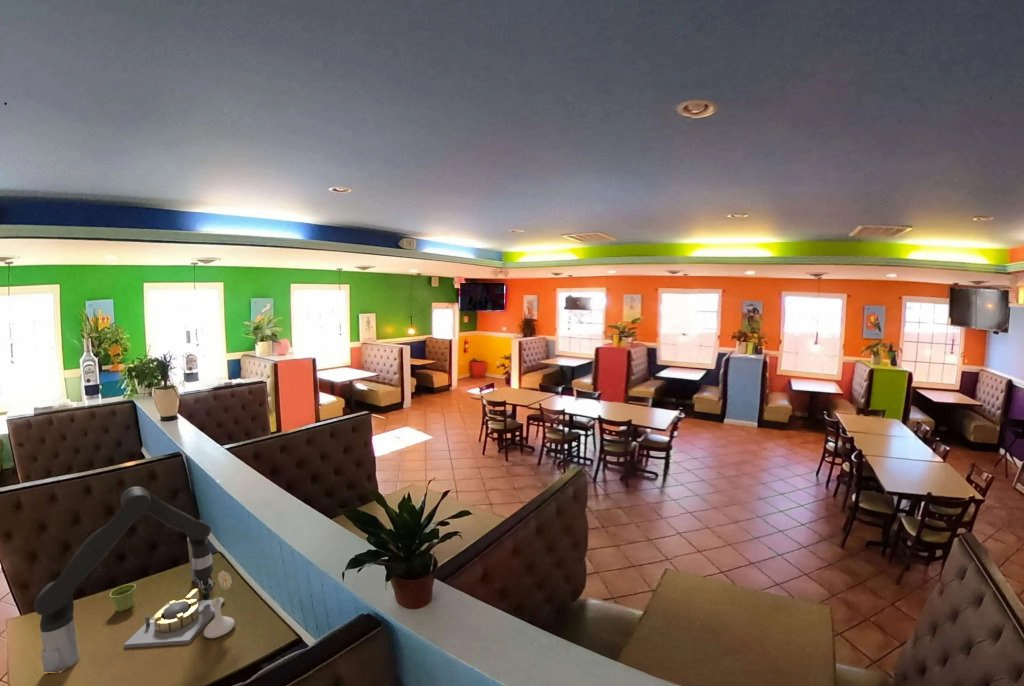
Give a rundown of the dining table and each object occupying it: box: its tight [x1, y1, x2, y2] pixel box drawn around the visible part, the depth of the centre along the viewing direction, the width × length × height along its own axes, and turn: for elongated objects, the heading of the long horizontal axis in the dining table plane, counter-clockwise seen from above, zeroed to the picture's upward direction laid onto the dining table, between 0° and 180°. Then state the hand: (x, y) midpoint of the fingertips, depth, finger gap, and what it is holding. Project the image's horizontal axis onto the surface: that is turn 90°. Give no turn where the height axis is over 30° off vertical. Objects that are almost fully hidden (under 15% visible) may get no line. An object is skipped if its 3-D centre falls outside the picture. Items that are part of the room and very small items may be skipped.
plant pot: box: [109, 583, 137, 612], centre depth 215 cm, size 9×9×9 cm
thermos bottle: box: [187, 537, 195, 583], centre depth 236 cm, size 8×8×28 cm
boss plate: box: [123, 598, 226, 649], centre depth 203 cm, size 26×26×8 cm
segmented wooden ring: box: [153, 588, 200, 632], centre depth 206 cm, size 22×16×5 cm
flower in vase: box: [203, 570, 236, 639], centre depth 197 cm, size 13×11×25 cm
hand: (206, 599), depth 214 cm, fingers closed
